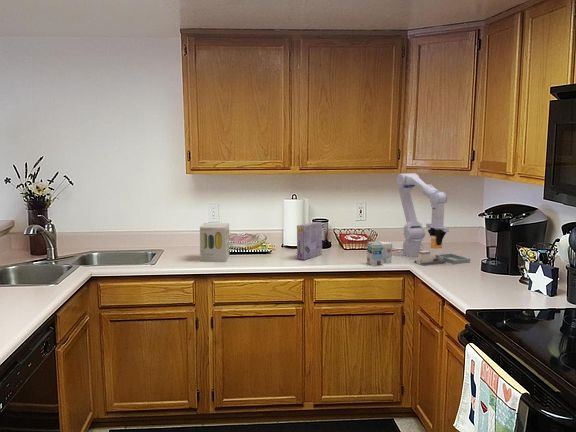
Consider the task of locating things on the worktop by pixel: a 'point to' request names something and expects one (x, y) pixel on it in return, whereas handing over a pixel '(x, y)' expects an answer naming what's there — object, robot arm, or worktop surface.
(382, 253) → the light bulb box
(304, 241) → the cake pan box
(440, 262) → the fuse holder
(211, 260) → the supplement box
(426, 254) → the cream rectangular block
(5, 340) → the worktop surface
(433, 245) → the block
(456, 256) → the slate tray
